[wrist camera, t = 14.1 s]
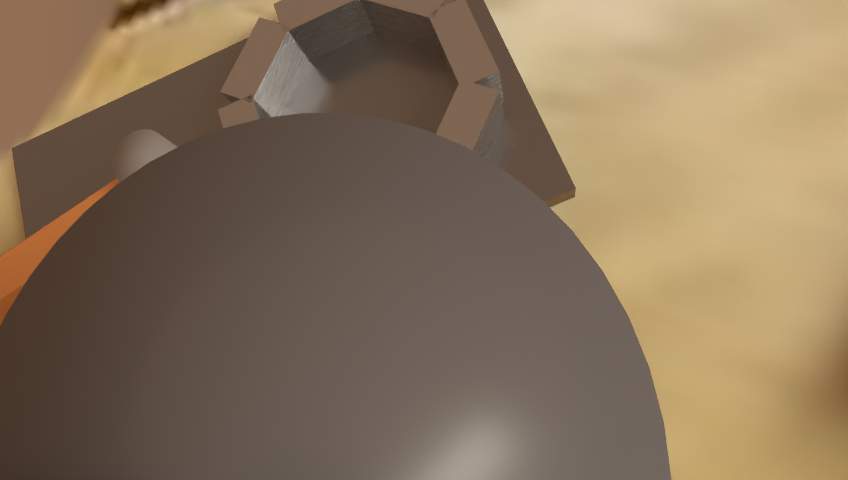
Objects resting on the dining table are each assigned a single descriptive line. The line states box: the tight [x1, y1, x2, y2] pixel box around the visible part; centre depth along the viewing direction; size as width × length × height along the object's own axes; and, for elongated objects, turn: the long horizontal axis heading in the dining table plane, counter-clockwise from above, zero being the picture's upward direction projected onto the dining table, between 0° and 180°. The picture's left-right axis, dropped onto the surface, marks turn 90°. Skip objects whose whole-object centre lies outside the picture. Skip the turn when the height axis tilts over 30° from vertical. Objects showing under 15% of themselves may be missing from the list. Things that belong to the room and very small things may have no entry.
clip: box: [0, 129, 178, 326], centre depth 17 cm, size 13×8×4 cm, turn 121°
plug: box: [0, 113, 671, 480], centre depth 11 cm, size 5×5×14 cm
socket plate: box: [12, 0, 576, 239], centre depth 20 cm, size 18×10×3 cm, turn 111°
